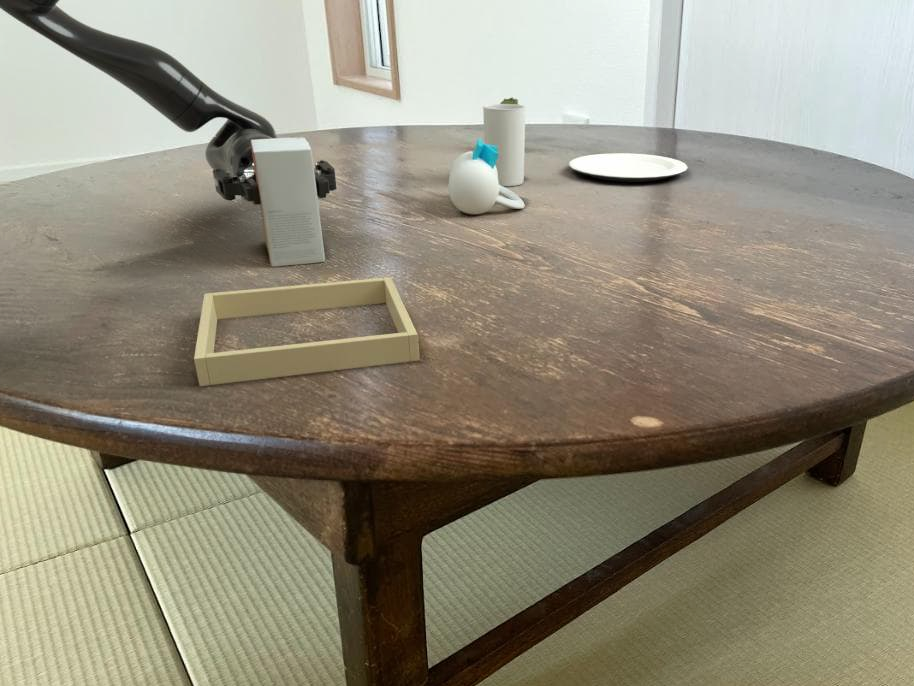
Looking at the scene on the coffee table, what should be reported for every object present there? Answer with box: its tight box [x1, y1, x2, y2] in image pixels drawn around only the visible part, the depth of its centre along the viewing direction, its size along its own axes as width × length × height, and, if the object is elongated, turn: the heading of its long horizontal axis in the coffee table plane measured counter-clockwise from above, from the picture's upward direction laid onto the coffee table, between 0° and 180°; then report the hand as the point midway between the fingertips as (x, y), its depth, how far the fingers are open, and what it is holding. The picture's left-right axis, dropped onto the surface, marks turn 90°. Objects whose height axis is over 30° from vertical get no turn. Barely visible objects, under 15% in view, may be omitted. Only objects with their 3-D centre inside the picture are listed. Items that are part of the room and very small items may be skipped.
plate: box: [568, 152, 688, 183], centre depth 140 cm, size 21×21×2 cm
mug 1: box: [482, 103, 526, 187], centre depth 131 cm, size 10×7×12 cm, turn 24°
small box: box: [251, 137, 326, 268], centre depth 93 cm, size 8×6×13 cm
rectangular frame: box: [193, 276, 420, 387], centre depth 72 cm, size 18×16×3 cm
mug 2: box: [447, 138, 526, 216], centre depth 116 cm, size 12×9×12 cm
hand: (289, 192), depth 91 cm, fingers closed on small box, 7 cm apart
